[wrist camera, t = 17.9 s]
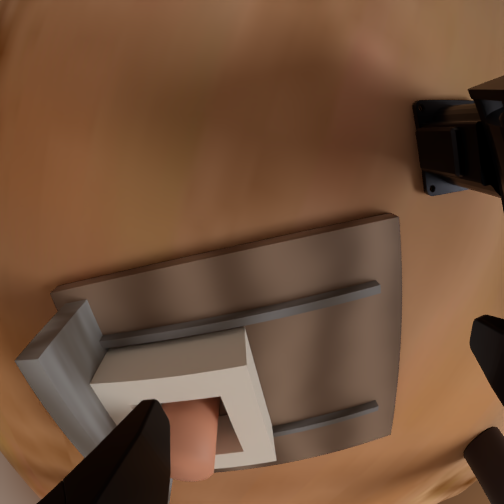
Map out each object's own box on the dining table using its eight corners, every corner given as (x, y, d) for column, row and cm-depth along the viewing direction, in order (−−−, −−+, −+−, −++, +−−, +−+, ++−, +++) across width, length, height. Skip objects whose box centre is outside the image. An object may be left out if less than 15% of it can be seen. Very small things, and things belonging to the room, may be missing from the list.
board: (390, 212, 20) (466, 251, 12) (386, 426, 26) (414, 486, 19) (57, 286, 20) (-5, 345, 12) (161, 466, 27) (151, 528, 19)
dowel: (215, 370, 21) (205, 448, 14) (224, 408, 22) (219, 481, 16) (161, 373, 21) (138, 446, 15) (175, 409, 22) (159, 479, 16)
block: (244, 326, 20) (246, 365, 16) (271, 423, 23) (276, 460, 19) (108, 348, 20) (89, 383, 16) (158, 436, 23) (151, 471, 20)
